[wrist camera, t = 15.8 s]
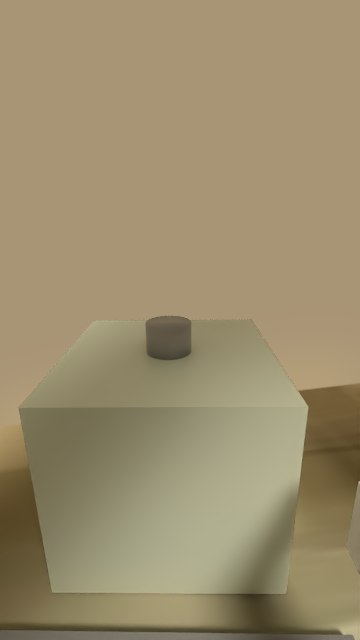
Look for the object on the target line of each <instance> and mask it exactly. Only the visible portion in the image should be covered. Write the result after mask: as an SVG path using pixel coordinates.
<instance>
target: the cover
mask: <svg viewBox="0 0 360 640" xmlns="http://www.w3.org/2000/svg"><path fill="white" fill-rule="evenodd" d="M19 412H20V418H21V424H22V429H23V435H24V440H25V446H26V451H27V457H28V462H29V468H30V474H31V479H32V485H33V490H34V496H35V501H36V507H37V512H38V518H39V524H40V529H41V535H42V540H43V546H44V551H45V557H46V562H47V568H48V574H49V579H50V585H51V590H52V593H178V594H286V589H287V581H288V573H289V564H290V556H291V548H292V539H293V531H294V523H295V515H296V506H297V498H298V490H299V481H300V473H301V465H302V457H303V448H304V440H305V432H306V423H307V415H308V405H307V404H306V402H305V401H304V399H303V398H302V396H301V395H300V393H299V392H298V390H297V389H296V387H295V385H294V384H293V382H292V381H291V379H290V378H289V376H288V375H287V373H286V372H285V370H284V369H283V367H282V365H281V364H280V362H279V361H278V359H277V358H276V356H275V355H274V353H273V352H272V350H271V349H270V347H269V346H268V344H267V342H266V341H265V339H264V338H263V336H262V335H261V333H260V332H259V330H258V329H257V327H256V325H255V324H254V322H253V321H252V320H189V319H187V318H184V317H179V316H161V317H155V318H152V319H149V320H130V321H129V320H122V321H120V320H119V321H93V322H92V324H91V325H90V326H89V327H88V328H87V329H86V330H85V332H84V333H83V334H82V335H81V336H80V337H79V339H78V340H77V341H76V342H75V343H74V344H73V345H72V347H71V348H70V349H69V350H68V351H67V352H66V354H65V355H64V356H63V357H62V358H61V359H60V360H59V362H58V363H57V364H56V365H55V366H54V367H53V369H52V370H51V371H50V372H49V373H48V374H47V376H46V377H45V378H44V379H43V380H42V381H41V382H40V384H39V385H38V386H37V387H36V388H35V389H34V390H33V392H32V393H31V394H30V395H29V396H28V397H27V399H26V400H25V401H24V402H23V403H22V404H21V406H20V407H19Z"/></svg>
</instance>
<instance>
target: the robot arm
mask: <svg viewBox="0 0 360 640" xmlns="http://www.w3.org/2000/svg"><path fill="white" fill-rule="evenodd" d="M346 547H347V549H348V551H349V553H350V555H351V557H352V559H353V561H354V563H355V566H356V568H357V570H358V572H359V574H360V481H358V486H357V491H356V497H355V502H354V507H353V513H352V518H351V523H350V529H349V534H348V539H347V545H346Z"/></svg>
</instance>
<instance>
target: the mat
mask: <svg viewBox="0 0 360 640" xmlns="http://www.w3.org/2000/svg"><path fill="white" fill-rule="evenodd" d="M0 640H355V639H354V637H353V635H321V634H250V633H179V632H107V631H36V630H0Z"/></svg>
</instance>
